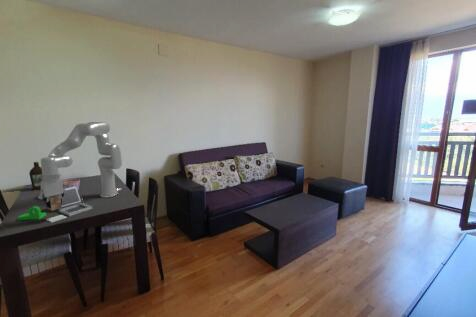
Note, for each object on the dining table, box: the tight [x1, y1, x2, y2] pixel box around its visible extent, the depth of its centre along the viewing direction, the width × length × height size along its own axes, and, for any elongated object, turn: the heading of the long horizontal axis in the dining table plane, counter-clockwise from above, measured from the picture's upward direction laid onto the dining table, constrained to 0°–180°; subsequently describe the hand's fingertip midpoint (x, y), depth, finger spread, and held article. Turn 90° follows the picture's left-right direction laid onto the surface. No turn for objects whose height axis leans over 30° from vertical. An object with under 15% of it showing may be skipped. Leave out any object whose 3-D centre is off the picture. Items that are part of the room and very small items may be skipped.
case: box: [58, 186, 93, 217], centre depth 154 cm, size 15×20×14 cm
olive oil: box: [29, 161, 43, 191], centre depth 198 cm, size 11×11×25 cm
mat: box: [45, 214, 68, 224], centre depth 140 cm, size 8×7×1 cm
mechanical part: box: [17, 205, 47, 221], centre depth 142 cm, size 12×6×8 cm, turn 97°
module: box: [47, 195, 63, 212], centre depth 138 cm, size 5×5×9 cm
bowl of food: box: [61, 178, 81, 192], centre depth 184 cm, size 20×20×12 cm
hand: (54, 205), depth 139 cm, fingers closed on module, 5 cm apart
